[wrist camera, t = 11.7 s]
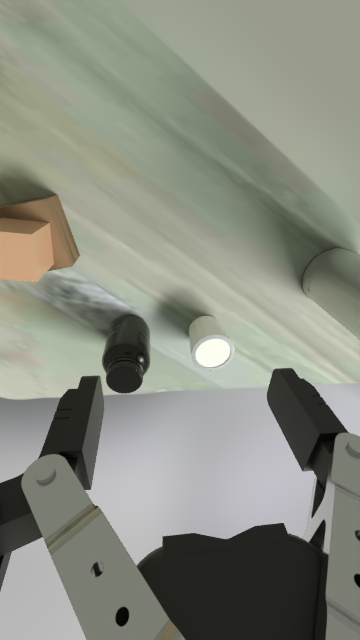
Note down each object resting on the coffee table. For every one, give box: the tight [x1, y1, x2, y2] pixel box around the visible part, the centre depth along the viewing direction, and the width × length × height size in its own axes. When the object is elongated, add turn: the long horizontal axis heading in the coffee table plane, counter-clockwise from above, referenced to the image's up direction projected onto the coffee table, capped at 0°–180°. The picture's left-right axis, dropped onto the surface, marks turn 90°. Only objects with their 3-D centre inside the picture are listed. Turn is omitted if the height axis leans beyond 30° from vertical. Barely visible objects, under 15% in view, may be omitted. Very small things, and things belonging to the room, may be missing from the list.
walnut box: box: [0, 195, 80, 271], centre depth 34 cm, size 8×8×5 cm
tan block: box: [0, 218, 54, 282], centre depth 30 cm, size 5×5×6 cm
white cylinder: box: [189, 316, 235, 371], centre depth 44 cm, size 7×7×7 cm
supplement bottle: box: [102, 315, 150, 393], centre depth 41 cm, size 7×7×12 cm
